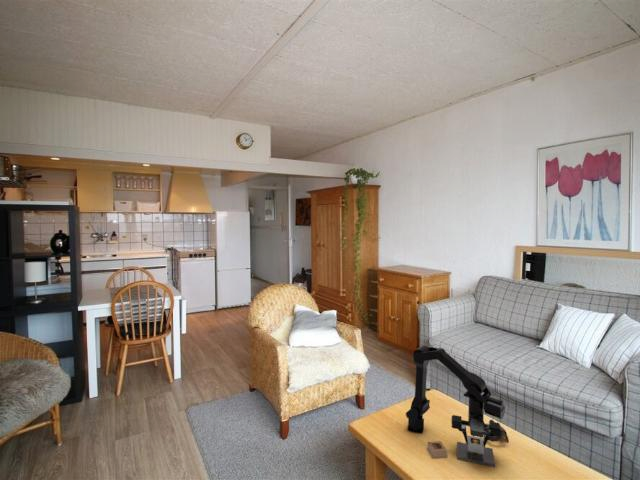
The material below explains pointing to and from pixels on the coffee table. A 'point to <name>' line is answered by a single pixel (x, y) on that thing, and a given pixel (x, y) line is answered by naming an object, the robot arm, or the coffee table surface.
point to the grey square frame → (475, 445)
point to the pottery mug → (499, 437)
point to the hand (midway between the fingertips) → (475, 445)
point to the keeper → (475, 455)
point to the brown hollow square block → (437, 449)
